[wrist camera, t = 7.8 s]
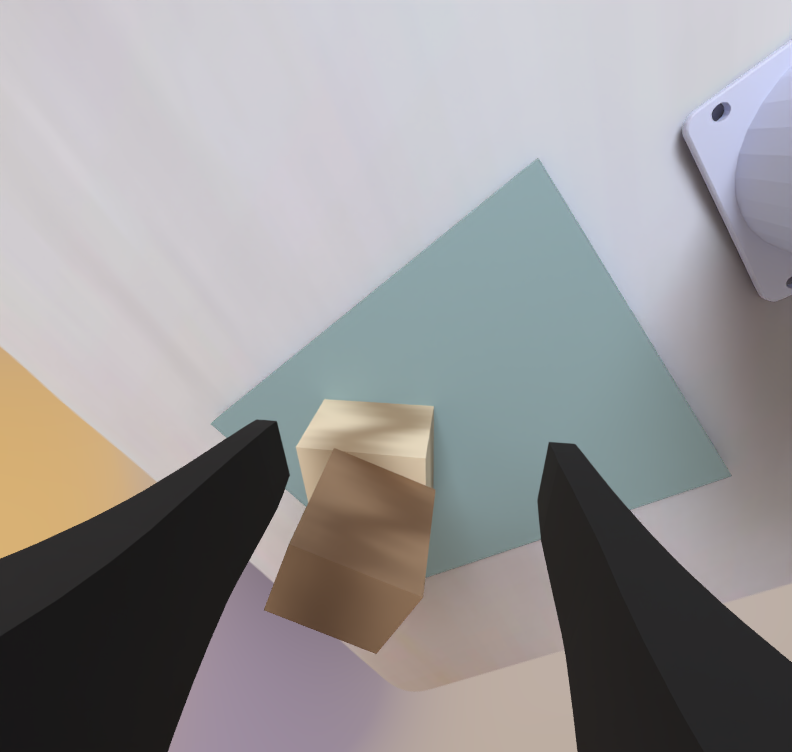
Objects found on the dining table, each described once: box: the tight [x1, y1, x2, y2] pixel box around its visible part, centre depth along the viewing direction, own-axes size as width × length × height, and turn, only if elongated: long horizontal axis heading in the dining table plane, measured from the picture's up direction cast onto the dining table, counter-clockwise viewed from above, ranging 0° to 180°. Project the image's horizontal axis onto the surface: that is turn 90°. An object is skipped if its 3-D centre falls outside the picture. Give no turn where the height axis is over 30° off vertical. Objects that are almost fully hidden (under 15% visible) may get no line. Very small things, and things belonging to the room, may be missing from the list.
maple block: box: [296, 399, 434, 502], centre depth 21 cm, size 6×6×4 cm
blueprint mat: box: [211, 158, 732, 578], centre depth 22 cm, size 22×18×1 cm
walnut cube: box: [264, 448, 435, 654], centre depth 17 cm, size 5×5×5 cm
